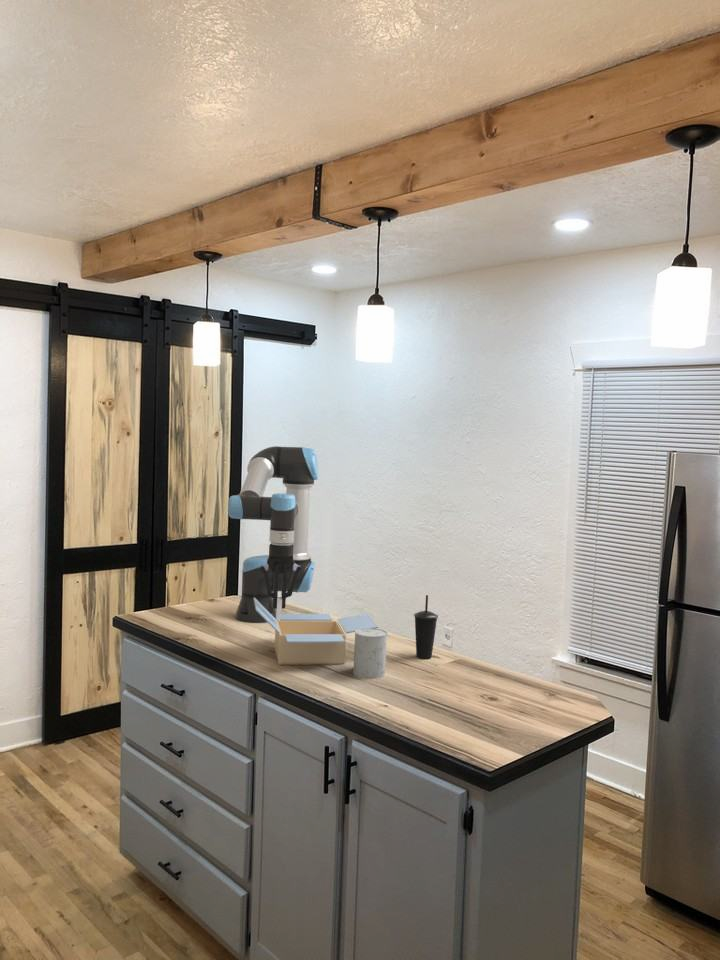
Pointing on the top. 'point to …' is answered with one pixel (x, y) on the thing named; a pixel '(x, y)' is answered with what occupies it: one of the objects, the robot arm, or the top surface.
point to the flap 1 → (266, 615)
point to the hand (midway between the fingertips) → (278, 618)
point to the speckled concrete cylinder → (370, 653)
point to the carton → (309, 640)
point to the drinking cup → (425, 632)
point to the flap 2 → (357, 623)
